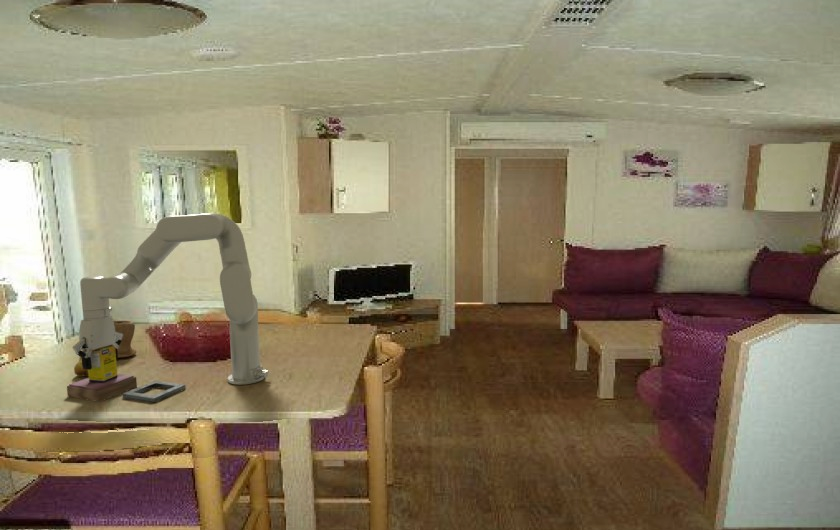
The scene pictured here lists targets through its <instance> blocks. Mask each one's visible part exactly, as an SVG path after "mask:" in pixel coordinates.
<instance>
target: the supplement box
mask: <svg viewBox="0 0 840 530" xmlns="http://www.w3.org/2000/svg"><path fill="white" fill-rule="evenodd" d="M86 352H87V351H86ZM89 357H91V365H92V369H90V370H88V375H89V376H88V378H89V382H99V383H105V382H107V381H110V380H112V379H115V378H117V377H118V375H117V374H118V365H117V361H116V352H115V346H107V347H104V348H100V349H97V350H92V352H91V354H90V355H89Z"/></svg>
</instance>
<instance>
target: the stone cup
mask: <svg viewBox="0 0 840 530" xmlns="http://www.w3.org/2000/svg"><path fill="white" fill-rule="evenodd" d="M113 322H114V326H115V332H118V333H121V334H123V337H122V340H121V343H120V345H119V348H118V349H117V351H118V359H119V358H120V359H121V358H129V357H131V356H134V355H136V354H137V350H136V349H133V348H132V347H131V345H132V340H133V338H134V335H135V329H136V327H135V325H136V324H135V323H134V321H131V320H113Z"/></svg>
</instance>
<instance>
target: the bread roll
mask: <svg viewBox="0 0 840 530" xmlns="http://www.w3.org/2000/svg"><path fill="white" fill-rule="evenodd" d="M73 371H74V374H75V375H76V376H78V377H89V375H88V369H83V366H82V358H81V357H79V359H78V361H77V362H76V364H75V365H74V368H73Z"/></svg>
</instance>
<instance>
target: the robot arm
mask: <svg viewBox="0 0 840 530" xmlns="http://www.w3.org/2000/svg"><path fill="white" fill-rule="evenodd" d="M214 239H215V240H216V241H217V242H218V246H219V254H220V258H221V264H222V265H221V266H222V270H221V271H220V273H219V285H220V289H221V295H222V300H223V308H224V312H225V315H226V317H227V318H228V320H229V343H230V345H229V346H230V347H229V348H230V361H231V365H230V366H231V374H229V375H228V376H227V379H226V380H227V383H229V384H232V385H235V386H237V385H241V386H242V385H243V386H244V385H245V386H246V385H251V384H255V383H256V384H257V383H259V382H261V381H263V380H264V379H266V378H268V374H270V373H269V371H270V370H269V369H268V370H266V369H264V368H263V365H261V362H260V361H261V359H260V358H261V357H260V340H259V335H260V334H259V307H258V306H259V305H258V301H257V298H256V297H257V296H255V294H253V288H252V280H251V279H252V270H251V268H250V263H249V259H248V252H247V248H246V242H245V239H244V235H243V232H242V230H241V228H240V226H239V225H238V224H237V223H236V222H235V221H234V220H233V219H232V218H231V217H230V218H229V217H228V216H226V215H223V214H221V213H216V212H209V213H208V212H207V213H200V214H199V213H197V214H187V215H166V216H164V217H162V218H161V219H160V220H159V221H158V222H157V224H156V228H155V229H154V231H152V233H151V234H149V236H147V237H146V239H145V240H143V241H142V243H140V245H139V246H138V247H137V252H136V254H135V256H134V258H132V260H131V261H130V262H129V264H127V266H126V267H125V268H124V269H123V270H121V272H120V273H119V274H116V275H114V276H109V277H106V276H103V275H91V276H89V275H88V276H84V277H82V278H81V279H80V282H79V283H80V296H81V297H80V298H81V308H82V319H81V320H80V323H79V336H78V338H79V339H78V342H76V344H74V345H73V346H72V349H73V351H74V353H75V355H77V356H79V358H80V357H81V358H82V366H83V369H88V370H90V369H92V365H91V357H89V355H90V354H91V352H92V350H97V349H100V348H104V347H107V346H115V352H116V362H117V361H119V358H118V351H117V349H118V348H119V345H120V343H121V340H122V337H123V334H121V333H118V332H115V326H114V322H113V321H114V320H113V317H112V315H111V312H112V311H113V308H112V307H111V306H110V299H111V300H119V299H120V300H121V299H125V297H127V296H130V295H131V294H133V293H134V292H135V291H137V289H138V288H140V287H141V285H142V284H144V282H145V281H146V280H147V279H148V278H149V277H150V276H151V275H152V274H153V272H154V271H155V270H156V269H157V268H159V266H160V265H161V264H162V263H163V262H164V261H165V260H166V259H167V258H168V256H169V255H170V254H172V252H173V251H174V250H175V249H176V248H177V247H178V246H179V245H180V244H181V243H186V242H187V243H188V242H196V241H197V242H199V241H210V240H214ZM86 351H87V352H86Z"/></svg>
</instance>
